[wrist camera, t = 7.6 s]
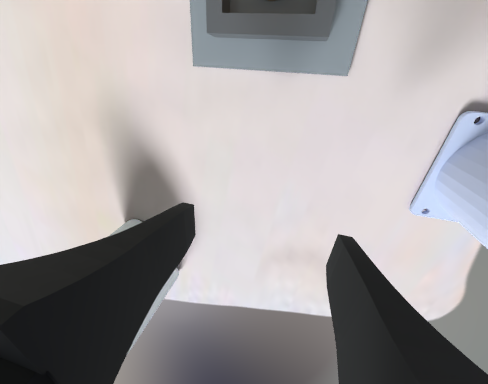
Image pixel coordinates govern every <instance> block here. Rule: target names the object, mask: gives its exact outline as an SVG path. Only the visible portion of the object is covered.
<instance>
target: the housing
mask: <svg viewBox="0 0 488 384" xmlns="http://www.w3.org/2000/svg"><path fill="white" fill-rule="evenodd" d="M367 1H368V0H275V1H268V0H190V13H191V32H192V52H193V66H197V67H213V68H229V69H244V70H260V71H276V72H291V73H307V74H323V75H339V76H348V72H349V68H350V65H351V61H352V57H353V53H354V50H355V46H356V42H357V38H358V35H359V31H360V27H361V23H362V20H363V16H364V12H365V8H366V5H367Z"/></svg>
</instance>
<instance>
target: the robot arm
mask: <svg viewBox="0 0 488 384" xmlns="http://www.w3.org/2000/svg"><path fill="white" fill-rule="evenodd" d="M478 117H480V121H479V122H478V123H476V124H474V120H475V119H476V118H478ZM423 209H427V210H426V211H422V210H423ZM409 210H410V212H411V213H412V214H414V215H418V216H424V217H430V218H436V219H442V220H448V221H454V222H459V223H460V224H461V225H462V226H463V227H464V228H465V229H466V230H467V231H468V232H469V233H471V234H472V235H473V236H474V237H475V238H476V239H477V240H478V241H479V242H480V243H481V244H483V245H484V246H485V247H486V248H487V249H488V112H477V111H467V112H464V113H463V114H461V115H460V116H459V117H458V119H457V121H456V123H455V124H454V126H453V128H452V130H451V132H450V134H449V135H448V137H447V139H446V141H445V143H444V145H443V147H442V148H441V150H440V152H439V154H438V156H437V158H436V159H435V161H434V163H433V165H432V167H431V169H430V171H429V172H428V174H427V176H426V178H425V180H424V182H423V183H422V185H421V187H420V189H419V191H418V193H417V195H416V196H415V198H414V200H413V202H412V204H411V206H410V208H409ZM194 237H195V218H194V205H193V204H188V203H181V204H179V205H176V206H174V207H172V208H170V209H168V210H166V211H164V212H162V213H160V214H158V215H156V216H154V217H152V218H150V219H148V220H146V221H144V222H142V223H140V224H137V225H135V226H133V227H131V228H129V229H126V230H124V231H122V232H119V233H117V234H114V235H111V236H109V237H106V238H103V239H100V240H98V241H95V242H91V243H88V244H85V245H82V246H78V247H75V248H72V249H69V250H65V251H61V252H57V253H54V254H50V255H45V256H41V257H37V258H33V259H28V260H24V261H19V262H13V263H8V264H3V265H0V384H113V383H114V381H115V378H116V376H117V374H118V372H119V370H120V367H121V365H122V363H123V361H124V359H125V357H126V355H127V353H128V351H129V349H130V347H131V345H132V343H133V341H134V339H135V337H136V335H137V333H138V331H139V329H140V327H141V325H142V323H143V321H144V320H145V318H146V316H147V314H148V312H149V310H150V308H151V307H152V305H153V303H154V301H155V299H156V298H157V296H158V294H159V293H160V291H161V289H162V288H163V286H164V285H165V283H166V282H167V281H168V279H169V278H170V276H171V275H172V273H173V272H174V270H175V269H176V267H177V266H178V264H179V263H180V261H181V260H182V258H183V257H184V255H185V254H186V252H187V251H188V249H189V247H190V245H191V243H192V241H193V239H194ZM326 276H327V290H328V296H329V303H330V309H331V315H332V321H333V327H334V333H335V340H336V348H337V362H338V377H339V384H488V374H486V373H485V372H484V371H483V370H481V369H480V368H479V367H478V366H477V365H475V364H474V363H473V362H472V361H471V360H470V359H469V358H467V357H466V356H465V355H464V354H463V353H462V352H461V351H459V350H458V349H457V348H456V347H455V346H453V345H452V344H451V343H450V342H449V341H448V340H447V339H446V338H444V337H443V336H442V335H441V334H440V333H439V332H438V331H437V330H436V329H435V328H434V327H433V326H431V324H430V323H429V322H427V321H426V320H425V319H424V318H423V317H422V316H421V315H420V314H419V313H418V312H417V311H416V310H415V309H414V308H413V307H412V306H411V305H410V304H409V303H408V302H407V301H406V300H405V299H404V297H403V296H402V295H401V294H400V293H399V292H398V291H397V290H396V289H395V288H394V287H393V286H392V284H391V283H390V282H389V281H388V280H387V279H386V278H385V276H384V275H383V274H382V273H381V272H380V271H379V269H378V268H377V267H376V266H375V265H374V263H373V262H372V261H371V260H370V258H369V257H368V256H367V255H366V253H365V252H364V251H363V250H362V248H361V247H360V246H359V245H358V243H357V242H356V241H355V240H354V239H353V237H349V236H344V235H339V234H338V236H337V239H336V241H335V244H334V247H333V249H332V252H331V254H330V257H329V259H328V262H327V265H326Z"/></svg>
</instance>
